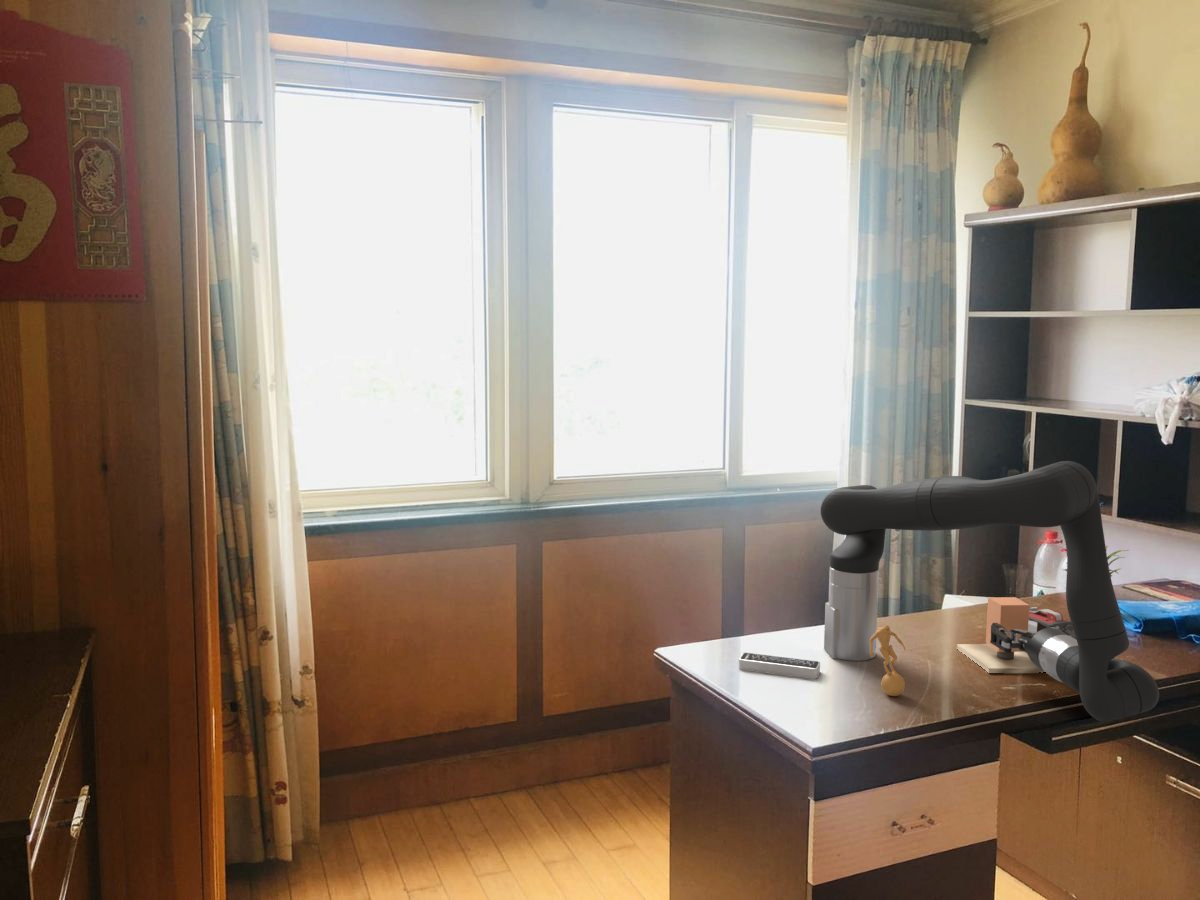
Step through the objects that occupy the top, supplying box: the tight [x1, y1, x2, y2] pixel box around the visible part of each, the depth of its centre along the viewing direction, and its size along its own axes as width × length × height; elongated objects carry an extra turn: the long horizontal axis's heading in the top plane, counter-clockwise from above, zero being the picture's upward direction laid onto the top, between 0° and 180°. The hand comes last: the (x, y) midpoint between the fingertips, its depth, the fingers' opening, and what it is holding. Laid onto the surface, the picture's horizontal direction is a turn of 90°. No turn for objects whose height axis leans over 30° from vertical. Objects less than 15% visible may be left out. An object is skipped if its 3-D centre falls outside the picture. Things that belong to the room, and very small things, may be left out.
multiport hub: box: [738, 652, 821, 680], centre depth 176 cm, size 4×14×2 cm, turn 69°
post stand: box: [956, 643, 1044, 674], centre depth 181 cm, size 22×14×11 cm, turn 93°
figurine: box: [869, 625, 906, 697], centre depth 164 cm, size 8×6×12 cm
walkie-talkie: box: [1028, 606, 1074, 633], centre depth 200 cm, size 9×4×20 cm
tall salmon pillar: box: [985, 596, 1030, 652], centre depth 180 cm, size 5×5×9 cm
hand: (1016, 627), depth 176 cm, fingers open, 8 cm apart
